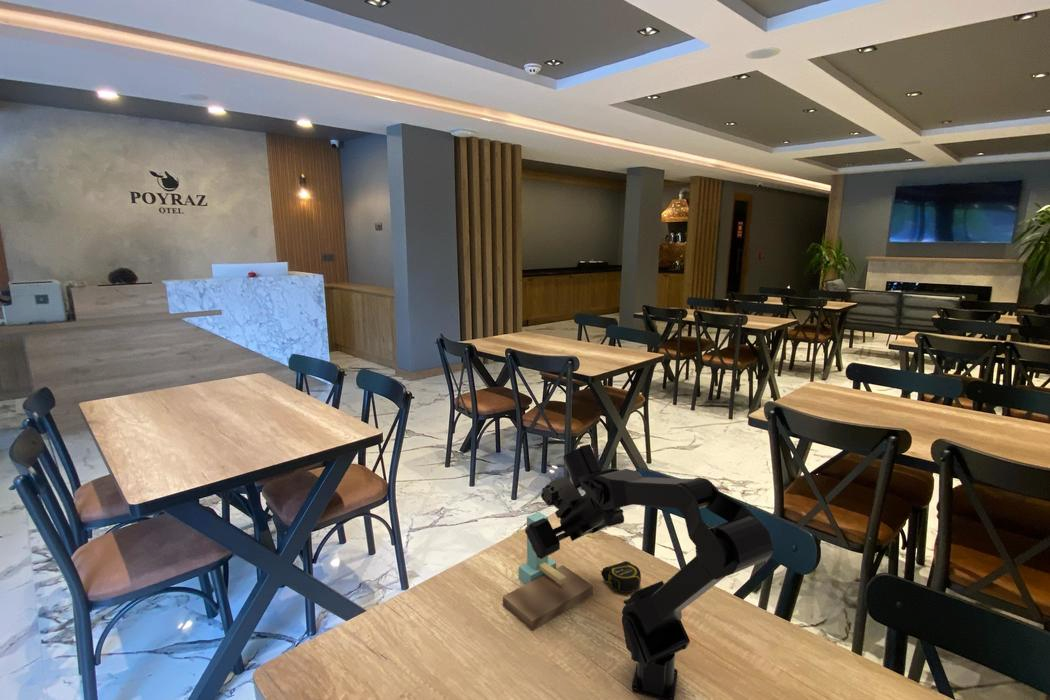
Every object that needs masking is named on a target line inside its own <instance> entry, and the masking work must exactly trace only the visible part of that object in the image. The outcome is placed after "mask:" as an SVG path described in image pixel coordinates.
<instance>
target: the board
mask: <svg viewBox="0 0 1050 700" xmlns="http://www.w3.org/2000/svg"><path fill="white" fill-rule="evenodd" d="M556 570H557V571H558V572H560V573H561V574H563V575H564V576H566V582H564V583H563V584H561V585H560V584H559V583H557V582H556V581H555V580H553V579H552V578H550V577H549V576H548V575H546V574H545V575H543V576H541V577H539V578H537V579H535V580H533V581H531V582H529V583H528V584H524V585H522V586H520V587H518V588H516V589H514V590H512V591H510V592H508V593H507V594H504V595H502V605H503V607H504V608H506V610H508V611H509V612H510V613H511V614H513V616H515V617H516V618H517V619H518V620H519V621H520V622H521V623H522V624H524V625H525V626H526V627H527V628H528V629H529V630H530V631H532V632H533V631H534V630H535V629H536V630H537V629H538V628H540V627H542V626H543V625H545V624H547V623H548V622H550V621H551V620H553V619H554V618H556V617H558V616H560V615H561V614H563V613H565V612H566V611H568V610H570V609H571V608H574V607H575V606H576V605H578V604H579V603H581V602H583V601H585V600H586V599H587V600H588V598H590V597H591V596H593V595H594V587H595V586H594V585H593V584H591V583H590V582H589V581H587V580H586V579H584V578H583V577H582V576H580V575H579V574H577V573H576V572H574V571H573V570H571V569H570V568H568V567H566V566H565V565H560V566H559V567H556Z"/></svg>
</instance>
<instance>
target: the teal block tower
mask: <svg viewBox="0 0 1050 700" xmlns="http://www.w3.org/2000/svg"><path fill="white" fill-rule="evenodd" d="M542 518H545V519H547V520H549V517H548V516H546V515H545V514H543V513H542V512H540V511H537V512H535V513H532V514H529V515H528V516H526V527H527V526H528V525H529V524H531V523H533V522H535V521H538V520H540V519H542ZM531 546H532V545H531V543H530V541H529V539H528V537H527V536H526V554H527V555H526V558H527V560H526V562H525V563H522V564H521V565H519V566H518V580H519V581H520V582H521V583H523V584H524V585H526V584H528V583H529V582H531V581H533V580H535V579H537V578H539V577H541V576H543V575H545V574H546V575H548V576H549V577H550V578H552V579H553V580H555V581H556V582H557V583H559V584H560V585H561V584H563V583H564V582H566V576H564V575H563V574H561V573H560V572H558V571H557V570H556V568H557V562H555V560H553V559H551V558H550V557H549V556H547V557H545V558H543V559H540V558H538V557H537V555H536V553H535V552H534V551H533V549H532V547H531Z"/></svg>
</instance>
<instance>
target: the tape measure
mask: <svg viewBox="0 0 1050 700" xmlns="http://www.w3.org/2000/svg"><path fill="white" fill-rule="evenodd" d="M600 575H601V577H602V580H603V581H604V582H605V583H608V584H609V586H610V587H611V588H612V589H613V590H615V591H618V592H620V593H631V592H632V593H633V592H635V591H637V589H639V587H640V585H641V583H642V582H641V580H642V579H641V578H642V576H641V570H640V569H639V567H638V566H636V565H635V564H633V563H631V562H630V561H622V562H619V563H615V564H613V565H610V566H606V567H603V568H602V570H600Z"/></svg>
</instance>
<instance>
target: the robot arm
mask: <svg viewBox="0 0 1050 700" xmlns="http://www.w3.org/2000/svg"><path fill="white" fill-rule="evenodd" d="M562 460H563V463H564V464H565V467H566V469H567V472H568V474H569V476H570V477H569V478H570V479H571V480H570V479H569V478H568V477H566V476H561V477H559V478H556V479H554V480H551V481H549V483H548V484H546V485H545V486H544V487H542V489H541V491H542V492H541V494H540V497H541V499H542V501H543V502H544V503H545V504H546V505H547V506H548V507H550V506H554V507H555V508H556V509H557V510H556V511H554V513H555V516H556V518H558V519H559V522H560V523H559V524H560V526H557V527H555V528H553V526H552V525H551V522H550V521H549V519H548V520H547V519H545V518H542V519H540V520H538V521H535V522H533V523H531V524H529V525H528V526H527V525H526V527H525V530H524V532H525V534H526V538H527V537H528V539H529V541H530V543H531V545H532V546H531V547H532V549H533V551H534V552H535V553H536V555H537V557H538V558H540V559H543V558H545V557H547V556H548V557H549V556H550V555H552V554H554V553H556V552H558V551H559V550H560V549H561V545H560V544H561V543H560V541H563V540H564V539H567V538H570V540H571V542H574V541H575V540H578V539H579V538H582V537H584V536H585V535H586V536H587V535H589V534H595V533H597V532H600V531H601V530H603V529H606V528H607V527H613V526H616V525H621V524H624V522H625V516H624V510H623V509H622V508H623V507H628V506H632V505H634V506H635V505H636V506H644V507H652V508H653V507H655V508H662V509H663V508H664V509H671V510H678V511H679V513H681V515H682V516H683V518H684V520H685V525H686V531H687V535H688V538H689V539H690V541H691V542H692V543H693V545H694V546H695V556H694V557H693V558H692V559H691V560H690V561H689V562H687V563H686V564H685V565H684V566H683V567H682V568H681V569H679V570H678V571H677V572H676V573H675V574H674V575H673V576H672V577H671V578H669V579H668V580H667V581H666V582H665V583H664V581H663V580H660V581H659V582H656V583H653V584H649V585H648V586H645V587H643V588H641V589H638V590H637V589H636V590H634V591H633V592H632V594H631V595H630V597H629V598H627V599H624V600H623V604H624V606H623V607H622V611H621V614H622V617H621V624H622V630H623V635H624V641H625V646H626V650H628V651H629V652H630V657H631V658H630V659H631V660H632V661H633V662H635V663H636V667H635V671H634V675H633V680H632V685H631V690H632V692H634V693H638V694H641V695H645V696H648V697H652V698H655V699H658V700H675V698H676V697H675V696H676V688H677V680H678V672H679V671H678V670H677V669H676V668H675V660H676V653H678V652H680V651H683V650H686V649H687V648H688V646H689V645H690V642H691V641H690V637H689V636H688V634H687V631H686V629H685V627H684V625H683V622H682V621H681V620H682V618H683V614H682V611H684V609H686V608H687V607H688V606H690V605H691V604H692V603H693V602H695V601H696V600H697V599H699V598H700V597H701V596H702V595H704V594H705V593H706V592H707V591H709V590H710V589H711V588H713V587H714V586H715V585H716V584H718V583H720V581H722V580H723V579H725V578H726V577H728V576H731V575H733V574H735V573H738V572H741V571H743V570H745V569H746V570H747V568H749V567H753V566H755V565H757V564H760V563H762V562H765V561H767V560H769V559H771V557H772V556H773V554H774V547H773V542H772V538H771V534H770V532H769V531H768V529H767V528H766V526H764V524H763V523H762V522H761V521H760V520H759V519H758V518H757V517H756V516H755V515H754V514H753V513H752V512H751V511H750V510H749V508H747V507H746V505H744V504H743V503H742V502H739V501H738V500H736V499H734V498H732V497H730V496H729V495H728V494H725V493H723V492H721V491H720V490H719V489H718V488H717V487H716V486H715V484H714V483H713V482H712V481H710V479H708V478H705V477H701V476H700V477H695V478H678V477H677V478H676V477H675V478H673V477H672V478H671V477H670V478H669V477H650V476H649V477H647V476H643V475H642V474H641V473H640V472H639V471H636V470H632V469H630V468H629V469H628V468H624V469H618V468H615V467H611V468H608V469H603V470H602V469H601V467H600V465H599V462H598V460H597V458H596V455H595V453H594V451H593V447H592V445H591V444H589V443H588V444H584V445H580V446H579V448H576V449H574V450H572V451H570V452H568V453H565V454H564V455H563V457H562ZM579 488H580V489H581V491H584V492H585V493H584V494H583V495H582V494H581V493H580V489H579ZM704 508H706V509H707V510H708V511H709V512H711V513H713V514H714V515H716V516H718V517H719V518H722V519H723V520H725V521H727V522H724V523H721V524H719V525H715V526H712V527H709V526H708V525H707V523H706V522H704V520H703V518H702V514H701V510H700V509H704Z"/></svg>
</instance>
